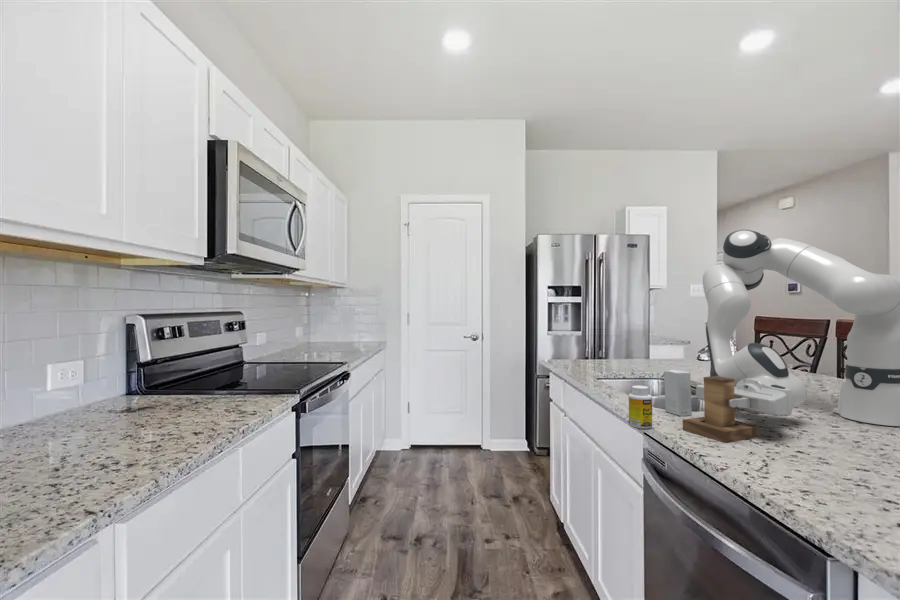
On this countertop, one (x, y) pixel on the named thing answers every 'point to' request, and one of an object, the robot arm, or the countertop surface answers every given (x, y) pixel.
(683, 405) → the skincare box
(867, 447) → the countertop surface
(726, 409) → the peg
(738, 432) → the wooden square frame
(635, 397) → the supplement bottle
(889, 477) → the countertop surface
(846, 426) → the countertop surface
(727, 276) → the robot arm
